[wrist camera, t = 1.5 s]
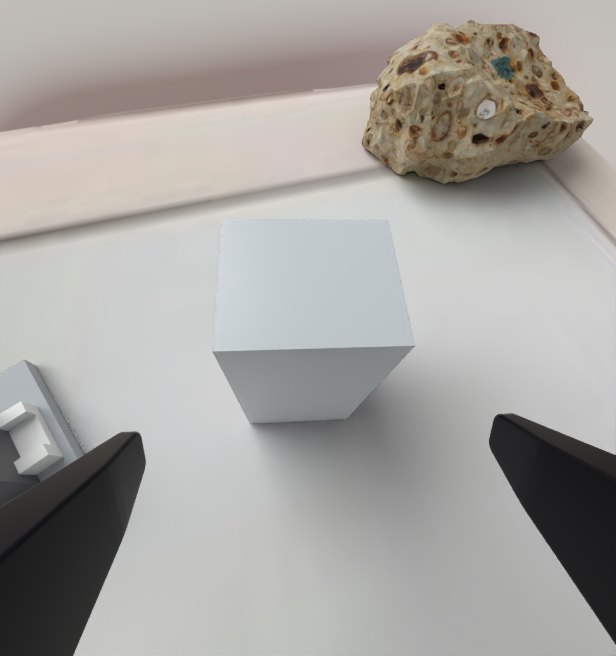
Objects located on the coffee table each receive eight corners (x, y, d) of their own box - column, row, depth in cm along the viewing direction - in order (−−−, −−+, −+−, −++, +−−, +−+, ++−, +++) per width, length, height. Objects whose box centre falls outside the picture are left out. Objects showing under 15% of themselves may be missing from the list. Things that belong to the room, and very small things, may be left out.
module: (346, 419, 21) (415, 345, 10) (249, 423, 20) (212, 351, 9) (337, 337, 23) (385, 207, 12) (251, 340, 23) (222, 206, 12)
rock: (477, 90, 40) (556, -10, 31) (533, 192, 38) (637, 117, 29) (330, 102, 33) (375, -22, 24) (388, 227, 31) (463, 144, 22)
